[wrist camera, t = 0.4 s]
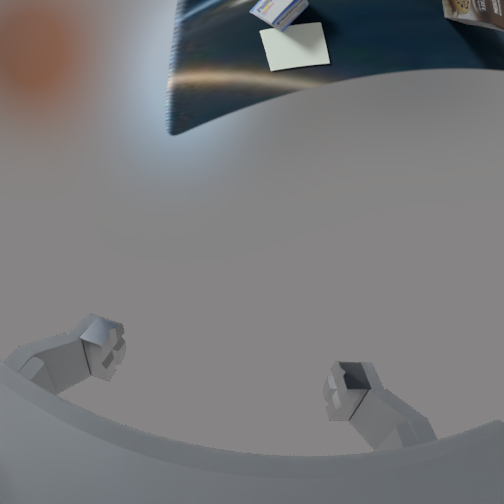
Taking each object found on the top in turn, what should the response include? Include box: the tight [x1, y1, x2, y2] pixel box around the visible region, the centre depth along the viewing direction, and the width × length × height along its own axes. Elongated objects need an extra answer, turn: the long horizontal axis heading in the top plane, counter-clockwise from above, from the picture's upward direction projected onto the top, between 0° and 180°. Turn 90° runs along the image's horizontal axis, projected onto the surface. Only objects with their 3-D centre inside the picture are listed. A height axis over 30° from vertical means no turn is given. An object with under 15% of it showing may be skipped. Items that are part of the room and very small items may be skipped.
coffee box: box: [442, 0, 504, 31], centre depth 15 cm, size 9×6×16 cm
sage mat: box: [260, 22, 330, 71], centre depth 37 cm, size 8×11×1 cm
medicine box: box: [250, 0, 309, 32], centre depth 29 cm, size 8×4×9 cm, turn 144°
